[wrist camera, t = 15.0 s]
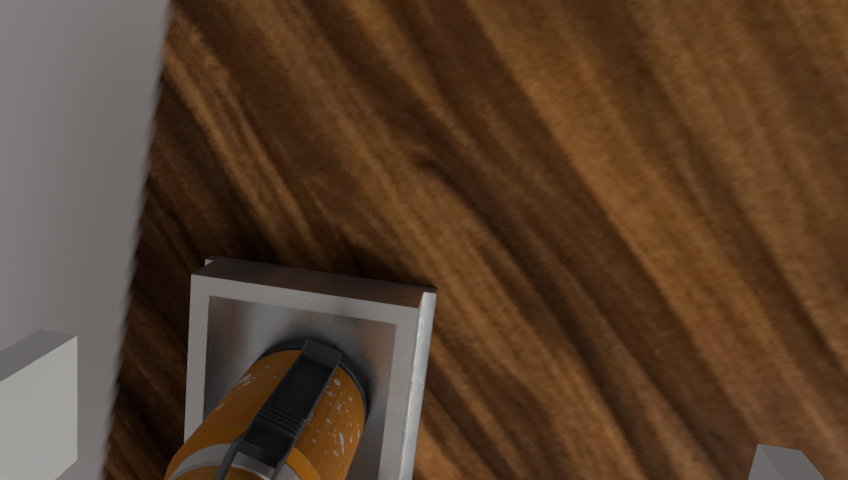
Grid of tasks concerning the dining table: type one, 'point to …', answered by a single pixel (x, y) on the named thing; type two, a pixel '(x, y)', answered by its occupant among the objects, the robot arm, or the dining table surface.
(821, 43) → the dining table surface
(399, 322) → the grey holder tray
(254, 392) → the canister
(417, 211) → the dining table surface
